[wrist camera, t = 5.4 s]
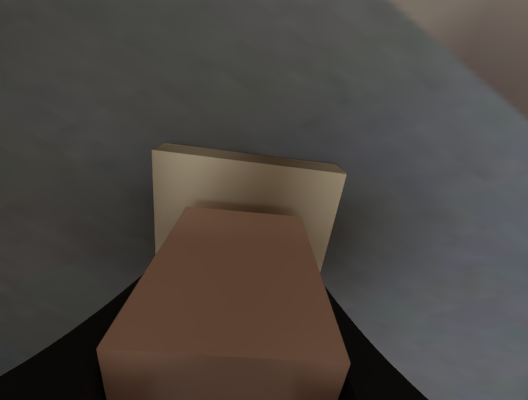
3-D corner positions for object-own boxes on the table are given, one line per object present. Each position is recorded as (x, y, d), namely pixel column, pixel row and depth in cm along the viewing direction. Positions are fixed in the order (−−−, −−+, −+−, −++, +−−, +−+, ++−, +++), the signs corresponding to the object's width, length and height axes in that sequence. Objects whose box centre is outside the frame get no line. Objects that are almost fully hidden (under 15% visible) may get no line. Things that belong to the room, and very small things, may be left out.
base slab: (169, 277, 15) (157, 302, 13) (167, 140, 12) (151, 149, 10) (302, 289, 16) (308, 315, 14) (333, 161, 13) (346, 173, 11)
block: (186, 296, 12) (122, 480, 6) (186, 206, 10) (96, 348, 4) (285, 303, 12) (307, 485, 6) (300, 216, 10) (350, 363, 5)
